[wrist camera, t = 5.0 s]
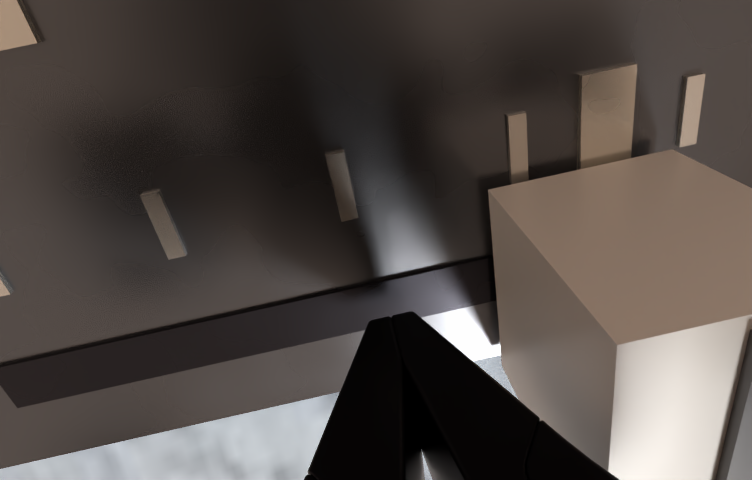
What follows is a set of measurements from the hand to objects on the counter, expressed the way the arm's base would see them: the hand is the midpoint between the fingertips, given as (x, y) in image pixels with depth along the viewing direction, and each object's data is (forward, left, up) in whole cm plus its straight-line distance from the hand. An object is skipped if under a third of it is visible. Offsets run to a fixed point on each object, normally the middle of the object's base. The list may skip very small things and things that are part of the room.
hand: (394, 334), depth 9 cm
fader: (-4, 0, -1) cm, 4 cm away
